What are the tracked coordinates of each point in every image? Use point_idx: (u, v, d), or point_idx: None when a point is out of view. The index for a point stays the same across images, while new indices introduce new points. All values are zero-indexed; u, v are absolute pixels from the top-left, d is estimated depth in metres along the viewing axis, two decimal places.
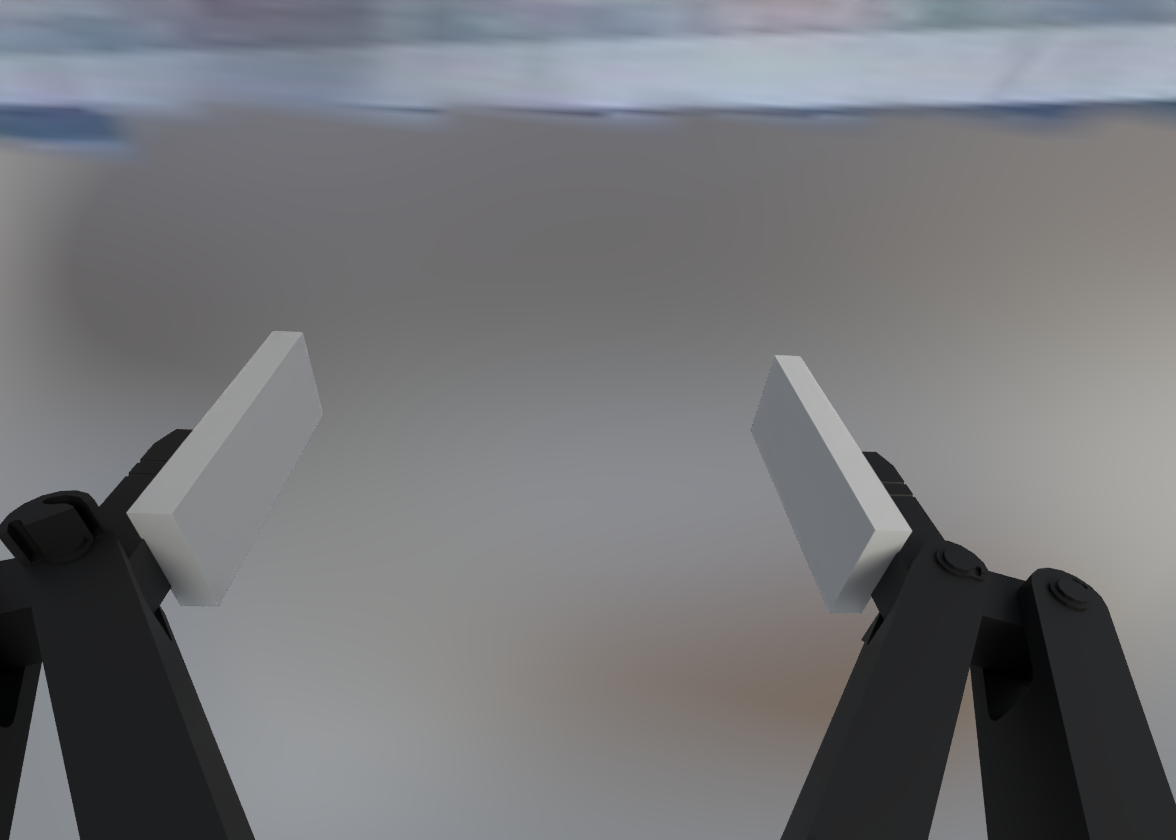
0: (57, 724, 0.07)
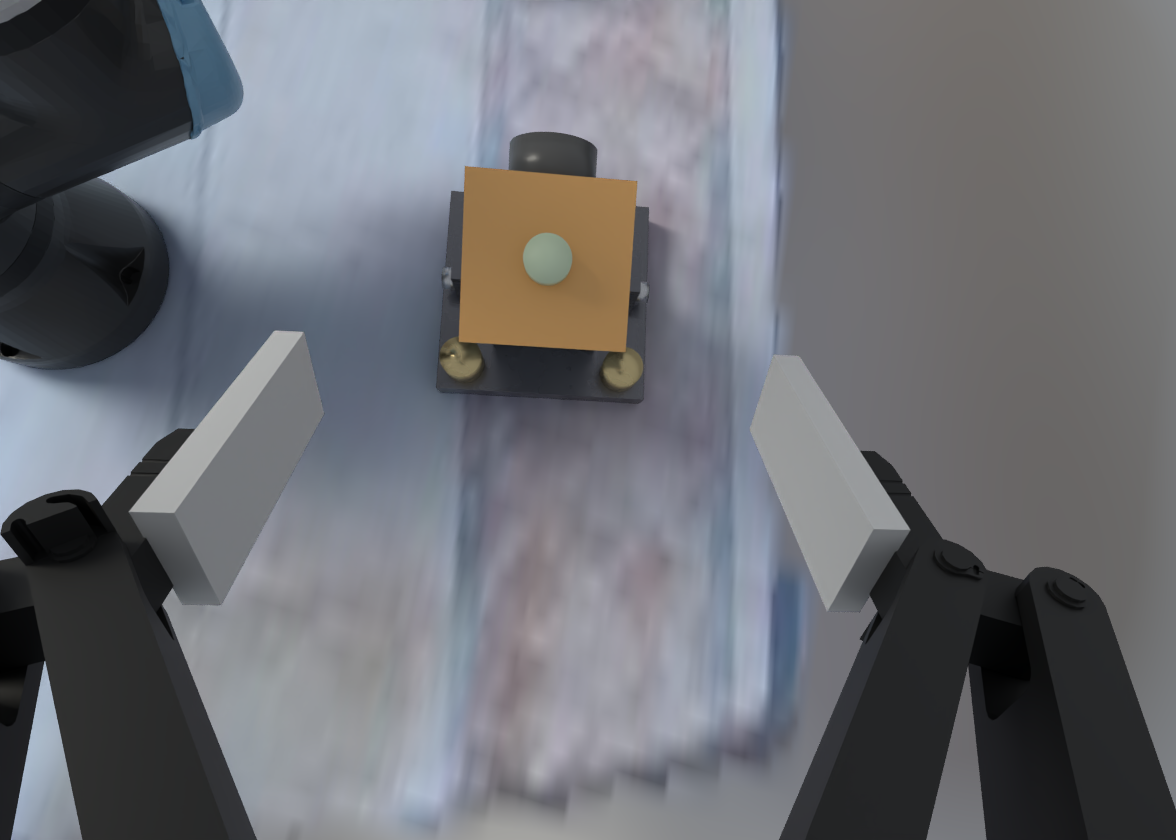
0: (59, 723, 0.07)
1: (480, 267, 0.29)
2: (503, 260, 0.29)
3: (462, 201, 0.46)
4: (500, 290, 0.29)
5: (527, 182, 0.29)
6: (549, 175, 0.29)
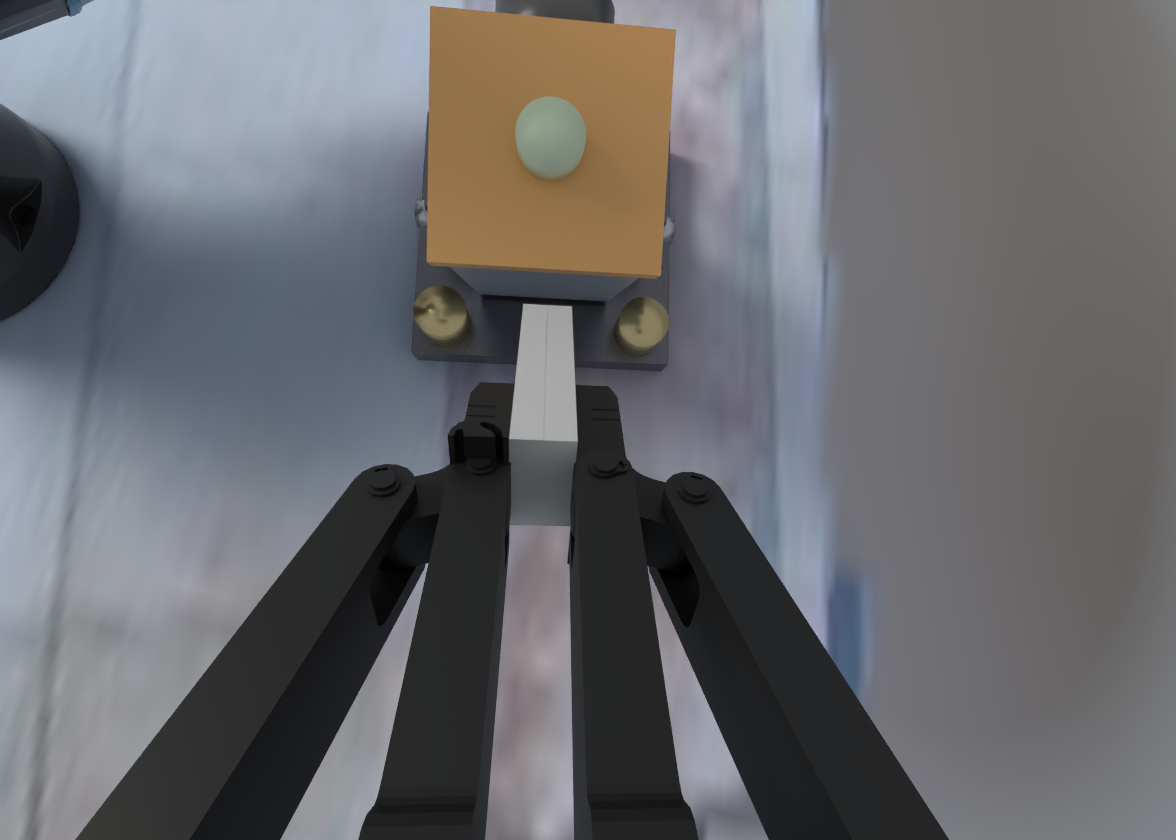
0: (422, 596, 0.09)
1: (456, 153, 0.20)
2: (487, 143, 0.20)
3: None
4: (484, 187, 0.21)
5: (520, 30, 0.20)
6: (551, 20, 0.20)
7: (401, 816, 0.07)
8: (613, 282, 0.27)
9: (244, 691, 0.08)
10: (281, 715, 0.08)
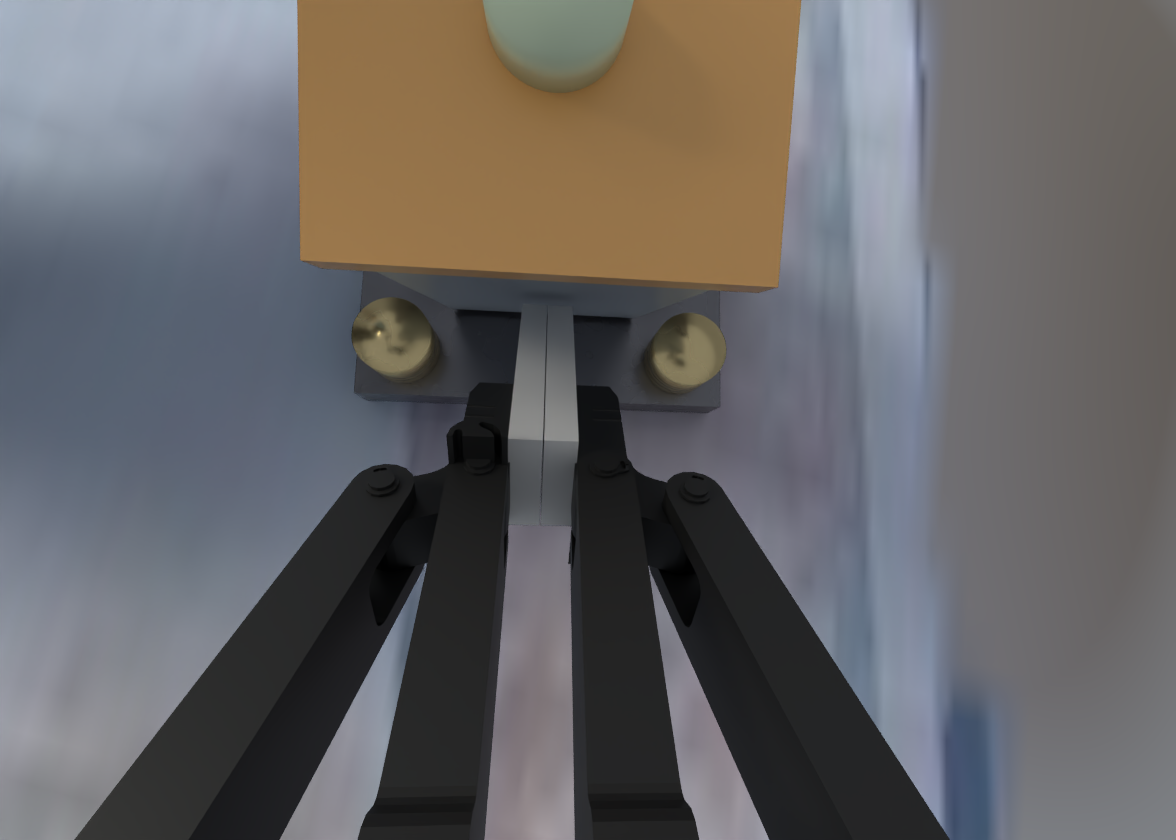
0: (420, 596, 0.09)
1: (357, 32, 0.10)
2: (423, 11, 0.10)
3: None
4: (419, 105, 0.10)
5: None
6: None
7: (400, 816, 0.07)
8: (661, 295, 0.16)
9: (244, 692, 0.08)
10: (280, 715, 0.08)
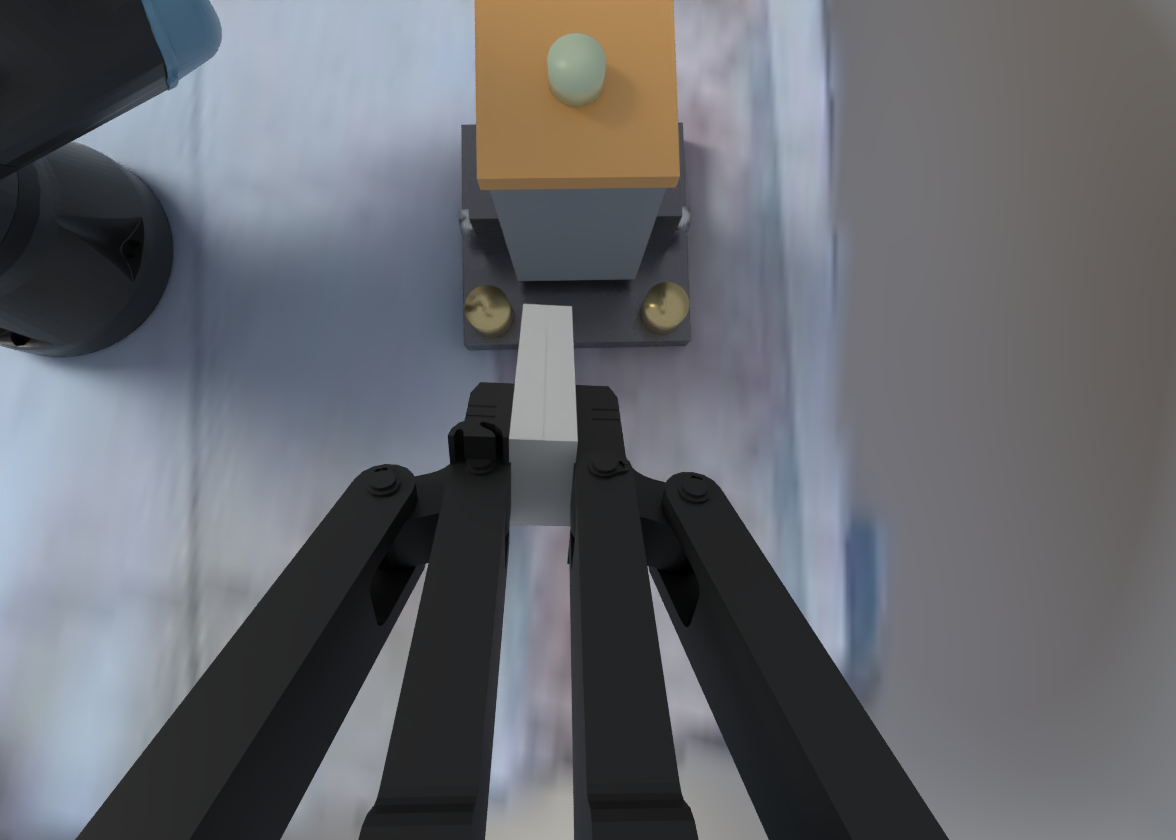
0: (421, 596, 0.09)
1: (498, 92, 0.25)
2: (523, 82, 0.25)
3: (474, 135, 0.41)
4: (523, 116, 0.24)
5: None
6: None
7: (401, 816, 0.07)
8: (638, 220, 0.30)
9: (245, 691, 0.08)
10: (281, 715, 0.08)
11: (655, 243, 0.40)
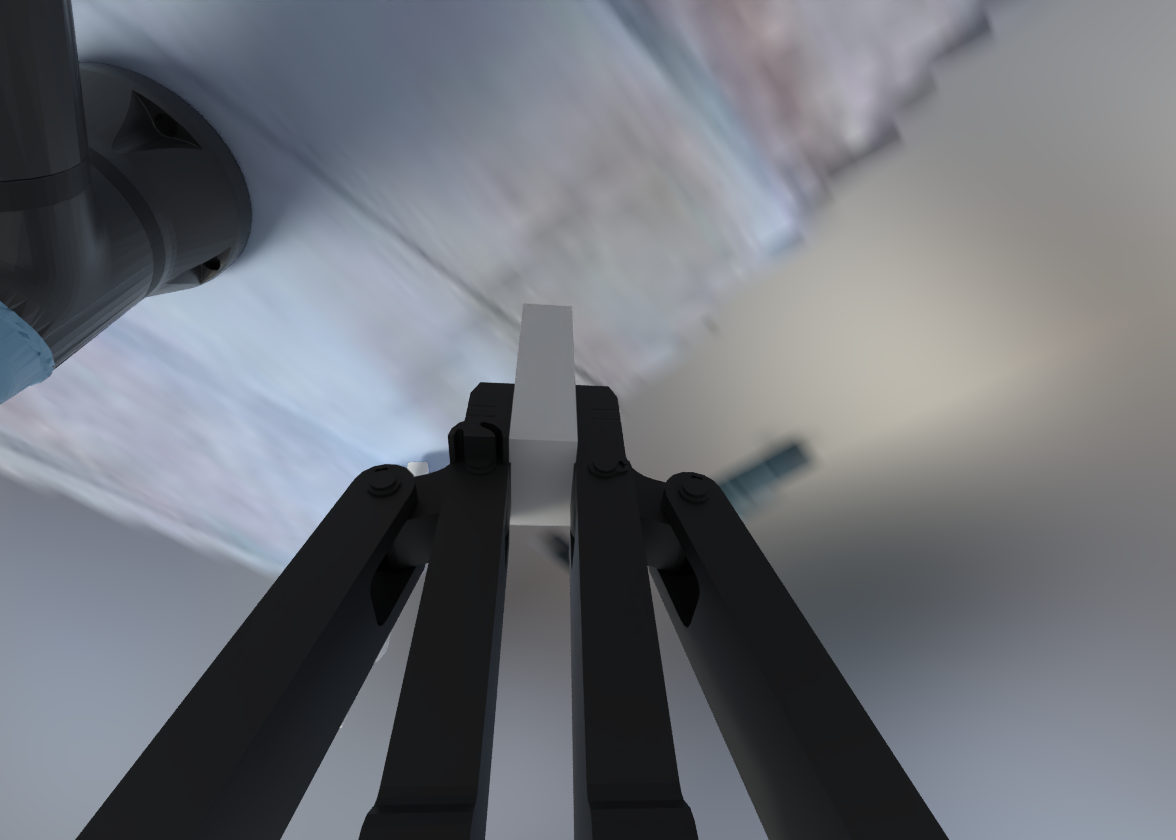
0: (421, 596, 0.09)
1: None
2: None
3: None
4: None
5: None
6: None
7: (401, 816, 0.07)
8: None
9: (245, 691, 0.08)
10: (281, 715, 0.08)
11: None
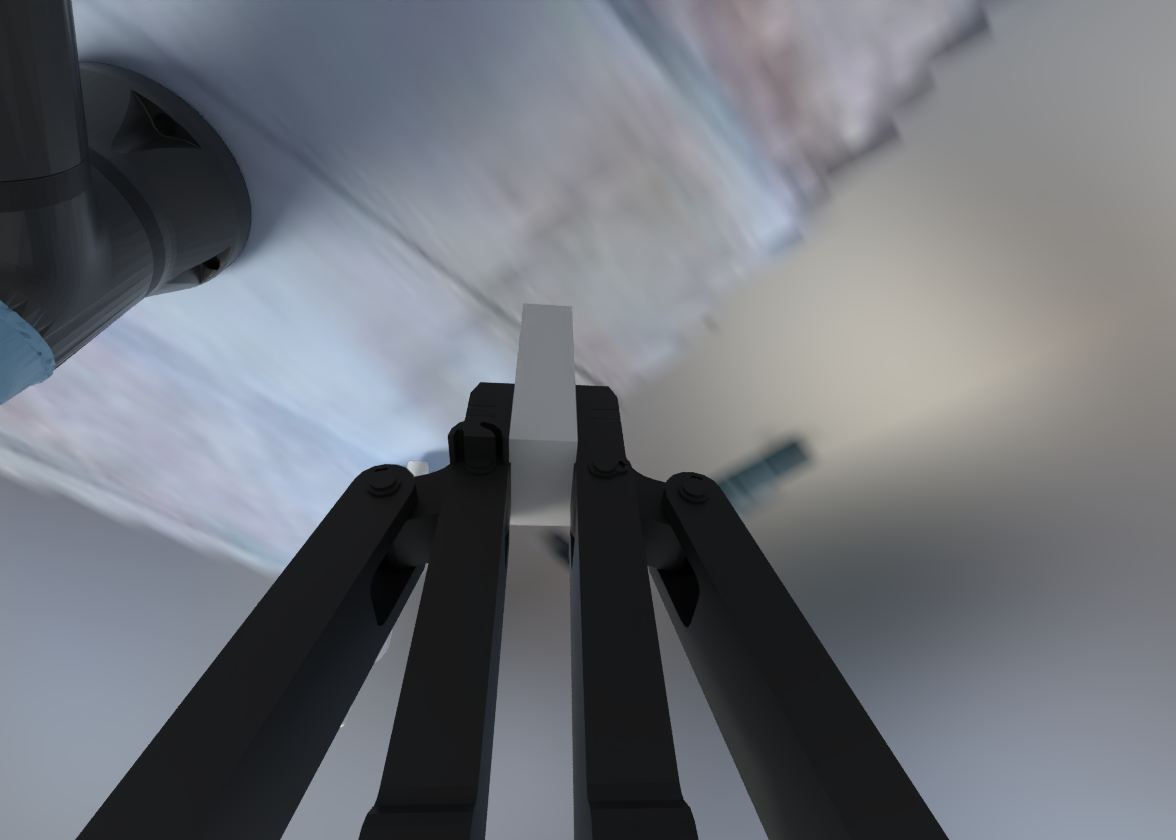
0: (422, 596, 0.09)
1: None
2: None
3: None
4: None
5: None
6: None
7: (401, 816, 0.07)
8: None
9: (244, 691, 0.08)
10: (281, 715, 0.08)
11: None
